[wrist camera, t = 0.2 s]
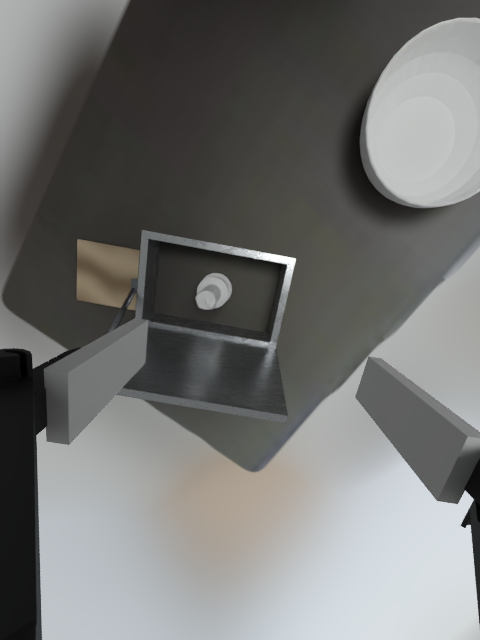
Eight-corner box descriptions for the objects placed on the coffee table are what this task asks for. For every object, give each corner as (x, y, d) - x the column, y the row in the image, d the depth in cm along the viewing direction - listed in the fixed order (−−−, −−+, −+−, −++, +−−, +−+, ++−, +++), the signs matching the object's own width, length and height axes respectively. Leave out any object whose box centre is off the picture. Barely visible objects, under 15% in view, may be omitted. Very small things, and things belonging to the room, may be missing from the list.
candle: (238, 293, 41) (235, 307, 29) (212, 310, 42) (200, 330, 30) (219, 266, 40) (209, 269, 28) (193, 284, 41) (173, 295, 29)
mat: (79, 239, 39) (77, 239, 39) (140, 250, 40) (139, 250, 39) (78, 299, 42) (76, 300, 41) (136, 309, 42) (135, 310, 42)
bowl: (405, 242, 39) (435, 239, 33) (317, 152, 36) (332, 131, 30) (512, 133, 35) (567, 107, 29) (423, 22, 32) (464, -32, 26)
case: (148, 232, 39) (62, 208, 21) (289, 258, 39) (329, 258, 21) (140, 332, 43) (62, 386, 25) (268, 354, 44) (285, 424, 25)
